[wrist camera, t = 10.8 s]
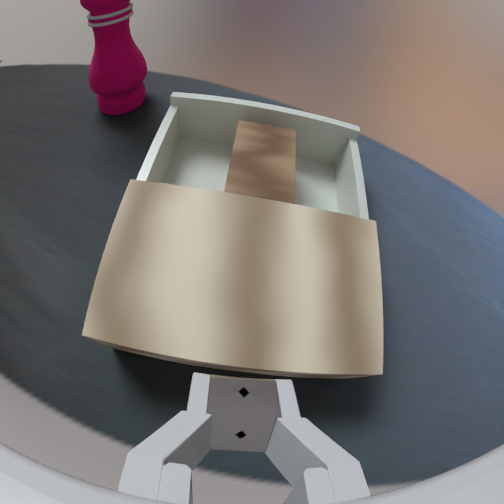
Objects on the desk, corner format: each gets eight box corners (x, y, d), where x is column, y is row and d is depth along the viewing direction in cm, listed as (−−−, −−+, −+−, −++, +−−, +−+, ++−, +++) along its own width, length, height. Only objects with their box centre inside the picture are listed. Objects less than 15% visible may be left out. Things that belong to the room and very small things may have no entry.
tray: (143, 222, 24) (130, 179, 19) (175, 136, 29) (172, 92, 24) (344, 254, 26) (375, 221, 21) (338, 165, 31) (359, 126, 25)
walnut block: (223, 191, 20) (238, 120, 24) (220, 227, 25) (233, 158, 28) (294, 203, 21) (295, 130, 24) (279, 236, 25) (283, 166, 29)
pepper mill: (149, 112, 31) (140, -46, 13) (92, 123, 29) (61, -27, 11) (149, 82, 33) (145, -51, 15) (99, 92, 32) (80, -37, 14)
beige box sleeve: (112, 348, 20) (82, 335, 14) (143, 222, 24) (130, 179, 19) (342, 378, 21) (382, 374, 16) (344, 254, 26) (375, 221, 21)
